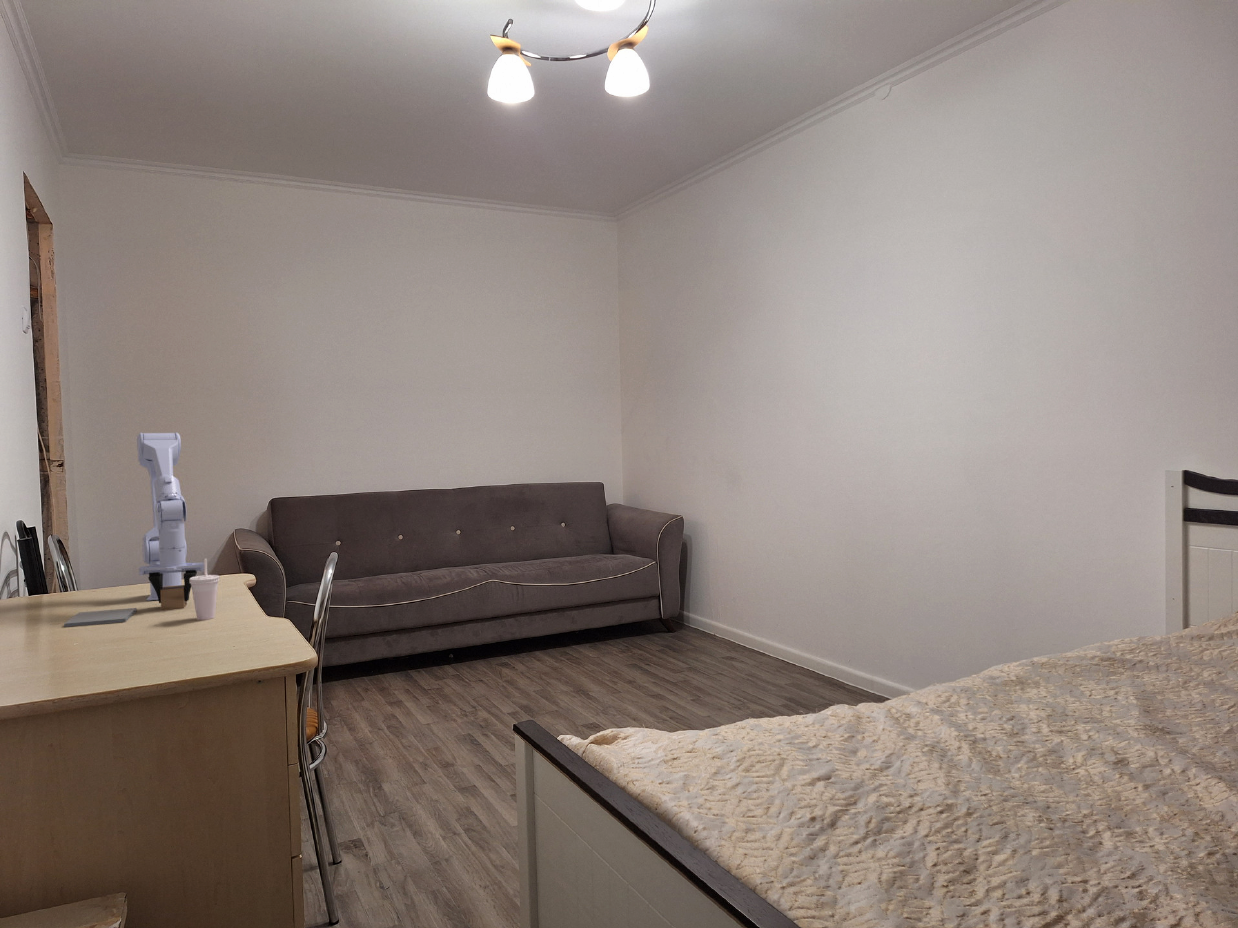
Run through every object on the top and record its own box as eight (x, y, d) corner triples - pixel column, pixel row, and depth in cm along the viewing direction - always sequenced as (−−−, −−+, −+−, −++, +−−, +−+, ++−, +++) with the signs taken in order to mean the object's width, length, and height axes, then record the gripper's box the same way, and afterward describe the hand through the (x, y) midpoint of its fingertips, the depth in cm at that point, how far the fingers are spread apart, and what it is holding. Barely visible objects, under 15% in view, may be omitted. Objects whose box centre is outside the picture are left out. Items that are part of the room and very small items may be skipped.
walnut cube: (164, 605, 201) (164, 586, 201) (187, 604, 203) (186, 584, 203) (161, 610, 196) (160, 590, 196) (183, 608, 198) (183, 588, 198)
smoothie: (226, 614, 190) (224, 556, 190) (210, 621, 184) (208, 561, 183) (201, 614, 191) (199, 556, 190) (184, 620, 184) (182, 561, 184)
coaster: (79, 615, 191) (78, 612, 191) (136, 611, 195) (136, 607, 195) (64, 627, 180) (64, 623, 180) (125, 621, 184) (125, 618, 184)
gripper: (135, 551, 193) (137, 607, 193) (202, 547, 198) (204, 601, 198) (141, 547, 199) (143, 601, 200) (206, 544, 204) (207, 596, 205)
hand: (174, 601), depth 199 cm, fingers closed on walnut cube, 5 cm apart
